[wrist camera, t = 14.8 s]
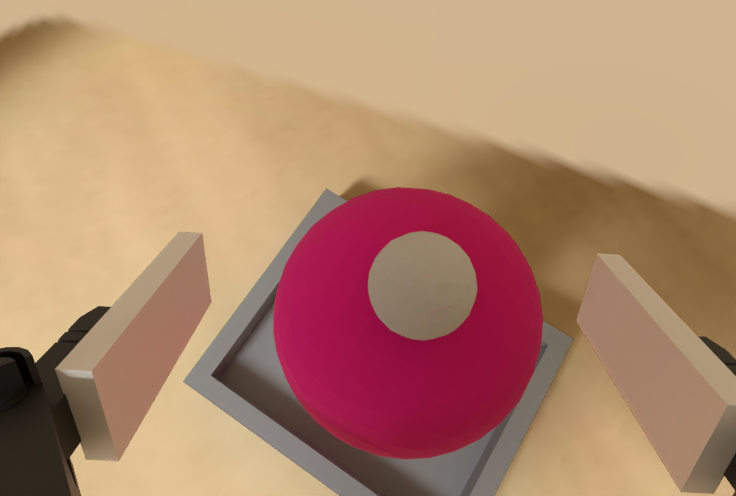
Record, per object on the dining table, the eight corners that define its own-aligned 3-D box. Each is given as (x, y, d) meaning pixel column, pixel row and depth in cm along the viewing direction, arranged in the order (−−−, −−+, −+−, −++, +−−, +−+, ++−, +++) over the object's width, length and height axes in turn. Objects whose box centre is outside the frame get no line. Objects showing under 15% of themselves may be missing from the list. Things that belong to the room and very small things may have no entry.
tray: (199, 382, 26) (183, 381, 24) (329, 205, 30) (326, 188, 27) (443, 559, 24) (452, 577, 22) (555, 343, 27) (573, 338, 25)
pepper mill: (355, 277, 27) (337, 4, 8) (467, 336, 26) (737, 182, 7) (290, 390, 25) (73, 373, 6) (409, 459, 24) (571, 684, 5)
